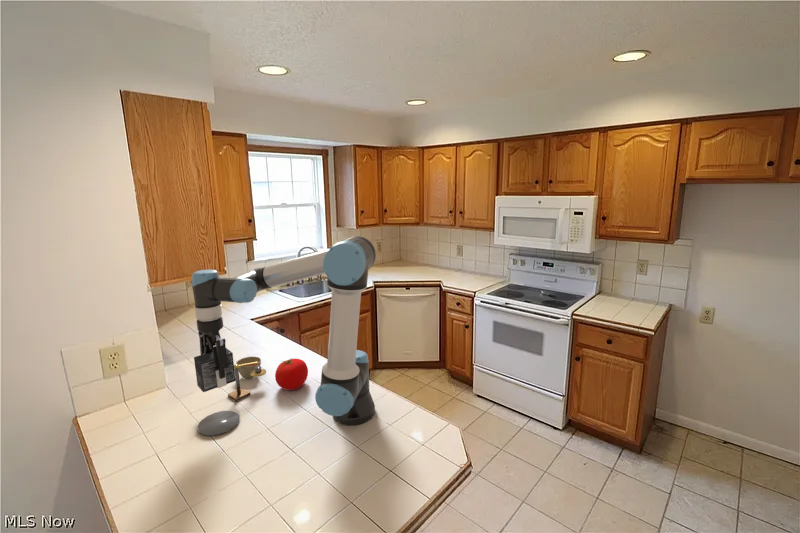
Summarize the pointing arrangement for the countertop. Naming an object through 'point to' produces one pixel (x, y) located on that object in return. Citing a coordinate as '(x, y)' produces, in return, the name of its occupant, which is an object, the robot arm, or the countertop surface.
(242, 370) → the flower pot
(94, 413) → the countertop surface
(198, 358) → the small box
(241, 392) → the balance
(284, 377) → the tomato
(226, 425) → the dish
